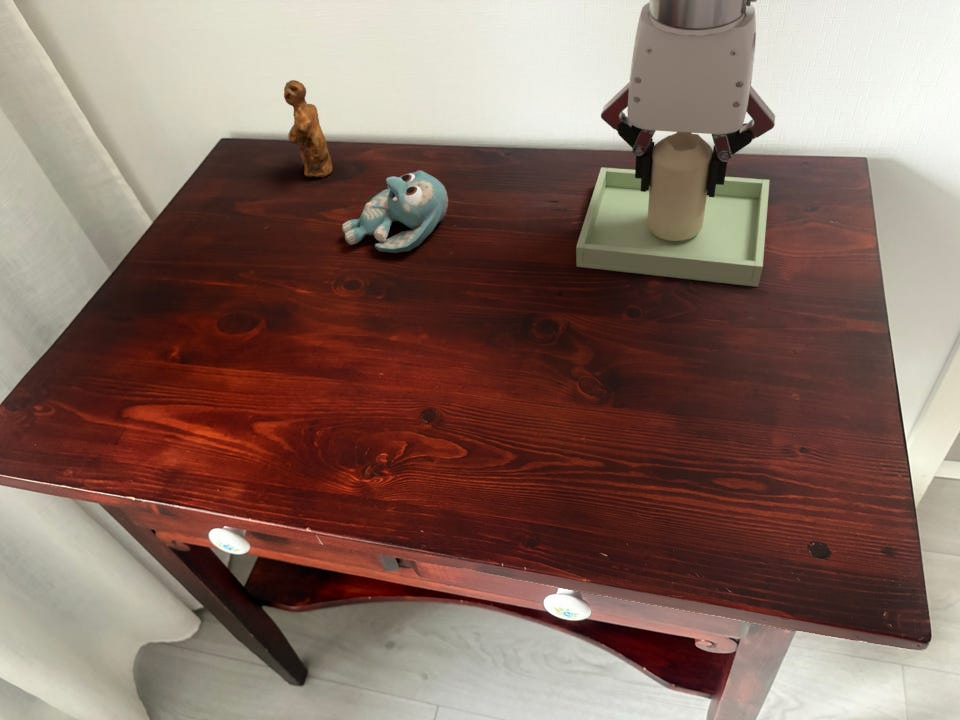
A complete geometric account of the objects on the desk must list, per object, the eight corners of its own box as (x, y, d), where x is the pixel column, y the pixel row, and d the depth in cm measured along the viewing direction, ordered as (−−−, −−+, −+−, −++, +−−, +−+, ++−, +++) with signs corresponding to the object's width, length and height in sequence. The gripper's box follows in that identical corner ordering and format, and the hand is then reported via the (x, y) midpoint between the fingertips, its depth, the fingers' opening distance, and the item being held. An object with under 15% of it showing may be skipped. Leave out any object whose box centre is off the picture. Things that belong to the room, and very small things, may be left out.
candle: (644, 240, 75) (650, 154, 68) (649, 205, 79) (655, 120, 71) (701, 243, 74) (713, 156, 67) (704, 208, 77) (715, 122, 70)
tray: (765, 200, 79) (769, 179, 77) (758, 287, 71) (762, 266, 69) (600, 186, 84) (601, 167, 82) (576, 266, 76) (575, 247, 74)
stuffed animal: (318, 179, 81) (419, 132, 81) (346, 226, 87) (440, 182, 86) (336, 237, 74) (446, 186, 74) (365, 285, 80) (468, 237, 79)
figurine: (290, 182, 91) (257, 91, 82) (316, 156, 94) (287, 65, 85) (321, 189, 89) (291, 97, 80) (347, 162, 93) (321, 70, 84)
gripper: (815, -24, 59) (773, 169, 73) (598, -25, 64) (597, 157, 78) (813, 20, 55) (770, 218, 68) (581, 16, 59) (583, 202, 73)
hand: (678, 184), depth 73 cm, fingers closed on candle, 5 cm apart
